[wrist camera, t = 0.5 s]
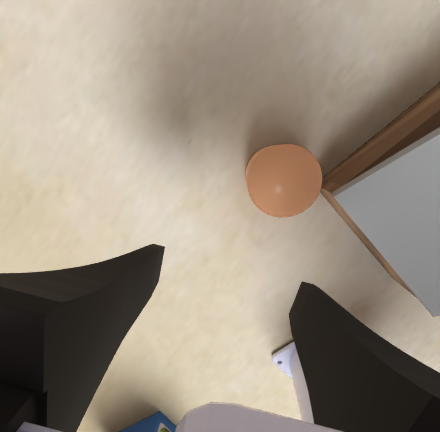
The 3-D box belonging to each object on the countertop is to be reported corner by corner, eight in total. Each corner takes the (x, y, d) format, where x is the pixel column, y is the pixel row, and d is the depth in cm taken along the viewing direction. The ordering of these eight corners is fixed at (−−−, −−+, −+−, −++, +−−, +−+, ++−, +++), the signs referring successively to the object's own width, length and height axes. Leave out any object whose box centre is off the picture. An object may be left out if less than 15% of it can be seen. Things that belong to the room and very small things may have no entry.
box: (524, 193, 19) (598, 204, 15) (391, 277, 22) (425, 304, 18) (448, 75, 17) (510, 53, 13) (314, 184, 20) (332, 193, 16)
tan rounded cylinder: (315, 176, 20) (337, 184, 15) (270, 213, 21) (278, 230, 17) (278, 132, 19) (290, 126, 15) (233, 173, 20) (232, 180, 16)
